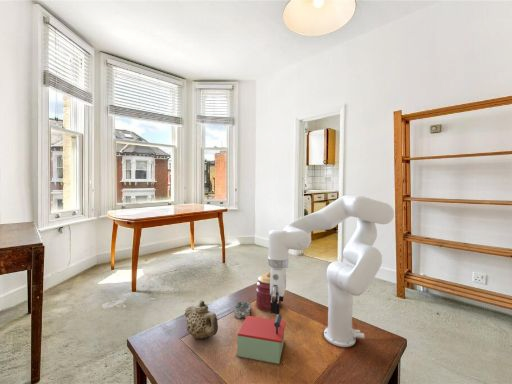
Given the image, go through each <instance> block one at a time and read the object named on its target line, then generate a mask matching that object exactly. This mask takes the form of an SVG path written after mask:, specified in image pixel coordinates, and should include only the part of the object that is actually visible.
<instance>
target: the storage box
mask: <svg viewBox="0 0 512 384" xmlns="http://www.w3.org/2000/svg"><path fill="white" fill-rule="evenodd" d="M284 342H285V334H284V335H283V339H282V343H279V342H273V341H267V340H261V339H255V338H249V337H244V336H238V335H237V357H240V358H245V359H251V360H256V361H262V362H265V363H266V362H267V363H272V364H278V365H280V363H281V356H282V352H283V348H284Z"/></svg>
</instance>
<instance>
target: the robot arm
mask: <svg viewBox="0 0 512 384" xmlns="http://www.w3.org/2000/svg"><path fill="white" fill-rule="evenodd" d="M350 217H353V218H356V229H355V231H354V232H353V234H352V236H351V237H350V239H349V240H348V242H347V244H346V245H345V247H344V248H343V250H342V256H343V258H344V259H345V261H347V262H348V263H350V264H352V265H354V267H353V266H352V265H350V264H347V263H346V262H343V261H339V260H336V261H335V260H334V261H332V262H330V263H329V264H328V266H327V269H326V281H327V287H328V288H327V289H328V299H327V300H328V301H327V302H328V303H327V305H328V306H327V327H326V328H325V329H324V331H323V336H324V339H325V340H326V341H327V342H328V343H330V344H331V345H333V346H337V347H341V348H348V347H352V346H354V345H355V344H356V341H357V339H365V333H363V332H361V330H360V329H354V328H353V305H354V304H353V302H354V300H353V299H354V297H353V296H355V297H358V296H361V295H363V294H364V293H365V292H366V291H367V289H368V288H369V286H370V285H371V283H372V281H373V280H374V278H375V277H376V275H377V274H378V272H379V270H380V268H381V267H382V263H383V258H382V257H383V256H382V252H381V251H380V250H379V249H378V248H376V247H375V246H374V244H375V242H376V240H377V238H378V229H377V226H376V224H379V225H387V224H390V223H391V222H392V221H393V219H394V217H395V210H394V208H393V207H392V206H391V204H388V203H387V202H383V201H379V200H376V199H373V198H369V197H366V196H362V195H354V194H345V195H342V196H340V197H339V198H337V199H335V200H333V201H332V202H331V203H329V204H327V205H326V206H324V207H322V208H321V209H319V210H317V211H314V212H312V213H309V214H307V215H303V216H301V217H298V218H296V219H295V220H293V221H292V222H291V223H289V224H287V225H285V226H284V228H283V229H282V228H273V229H271V230H269V232H268V250H267V251H268V252H267V253H268V254H267V255H268V256H267V257H268V258H267V267H268V268H270V272H271V273H270V294H271V295H272V297H271V311H270V314H272V315H273V314H274V315H277V314H280V311H281V309H280V307H281V305H280V303H279V301H281V303H282V302H284V296H285V294H286V289H287V269H288V268H289V250H295V251H303V250H306V249H308V248H309V247H310V245H311V243H312V237H311V236H310V234H309V233H311V232H315V231H316V232H317V231H327V230H331V229H333V228H335V227H336V226H338V225H340V224H341V223H342V222H344V221H345V220H347V219H348V218H350Z"/></svg>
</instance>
